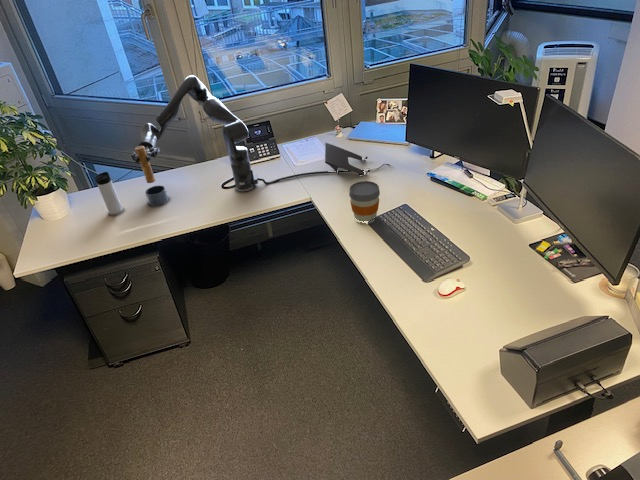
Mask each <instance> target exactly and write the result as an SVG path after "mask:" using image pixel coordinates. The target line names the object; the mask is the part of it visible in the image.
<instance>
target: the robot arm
mask: <svg viewBox="0 0 640 480" xmlns="http://www.w3.org/2000/svg"><path fill="white" fill-rule="evenodd" d="M187 95H188V96H189V97H190V98H191V99H192V100H194V101H195V102H196V103H198V104H199V105H200V106H201V109H202V110H203V112H204V113H205V114H206V115H207V117H208V118H209V119H210V120H211V121H213V122H215V123H218V124H221V125H222V127H221V132H222V137H223V141H224V145H225V149H226V152H227V155H228V158H229V163H230V167H231V172H232V177H233V181H234V184H235V190H236V191H237V192H243V193H244V192H249V191H252V190H253V189H256V185H258V184H259V181H261V182H263V184H265V185H271V184H275V183H277V182H280V181H283V180H287V179H293V178H296V177H301V176H302V177H303V176H309V175H319V174H337V173H336V172H328V171H329V170H323V171H311V172H304V173H297V174H292V175H288V176H284V177H280V178H277V179H275V180H272V181H269V182H268V181H266V180H265V179H264V178H260V177H258V174H254V172H253V171H254V170H253V169H252V166H251V160H250V155H249V150H248V148H247V147H245V146H243V145H242V146H240V145H236V144H237V143H241V142H244V141H245V140H247V139H248V138H249V136H250V135H249V133H250V132H249V129H248V128H247V126H246V124H245V123H244V122H243V121H242V120H241V119H240V118H238V117H237V116H236V115H234V114H233V113H232V112H231V111H230V110H229V108H227V107H226V106H225V105H224V103H222V102H221V101H220V100H219V99H218V98H217V97H215V96H213V95H212V94H211V93H210V92H209V90H208V88H207V87H206V86H205V84H204V83H203V82H202V81H201V80H200V79H199V78H198V77H197V76H196V75H194V74H192V75H191V74H190V75H188V76H187V77H186V78H184V79H183V81H182V82H181V84H180V85H179V86H178V88H177V89H176V91H175V93H174V94H173V95H172V97H171V99H170V100H169V102H168V103H167V104H166V105H165V107H163V109H162V110H161V111H160V112H159V113H158V114H157V115H156V117H155V121H156V123H157V124H158V125H159V128H158V127H156V126H155V125H154V124H153V123H151V122H145V123H143V125H142V126H141V128H140V136H141V138H140V140H139V142H138V145H137V147H138V146H144V147H145V150H146V153H147V156H146V159H147V162H150V161H151V160H152V158H156V157H158V156H159V154H160V153H161V149H160V147H159V146H157V143H159V142H161V140H162V138H163V136H164V134H165V132H166V130H167V129H168V127H169V126H170V125H171V124H172V122H174V120H175V119H176V118H177V116H178V115H179V110H180V108H181V104H182V101H183V99H184V98H185V96H187ZM129 154H130V157H131V159H132V161H133V162H135V163H136V164H140V161H139V159H138V156H137V153H136V151H133V150H130V151H129ZM363 171H364V170H363ZM338 173H339V174H341V173H352V172H351V171H343V170H338Z"/></svg>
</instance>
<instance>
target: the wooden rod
mask: <svg viewBox="0 0 640 480" xmlns="http://www.w3.org/2000/svg"><path fill="white" fill-rule="evenodd" d="M134 150H135V152H136V153H137V156H138V159H139V164H140V167H141V169H142V172H143V176H144V178H145V181H146V183H147V184H152V183H155V182H156V177H155V175H154V172H153V169H152V166H151V163H150V161H149V162H147V159H146V156H147V153H146V150H145V147H144V146H138V145H137V146H136V147H134Z"/></svg>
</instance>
